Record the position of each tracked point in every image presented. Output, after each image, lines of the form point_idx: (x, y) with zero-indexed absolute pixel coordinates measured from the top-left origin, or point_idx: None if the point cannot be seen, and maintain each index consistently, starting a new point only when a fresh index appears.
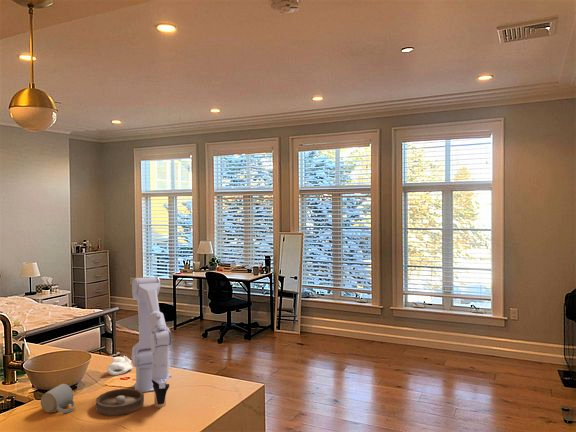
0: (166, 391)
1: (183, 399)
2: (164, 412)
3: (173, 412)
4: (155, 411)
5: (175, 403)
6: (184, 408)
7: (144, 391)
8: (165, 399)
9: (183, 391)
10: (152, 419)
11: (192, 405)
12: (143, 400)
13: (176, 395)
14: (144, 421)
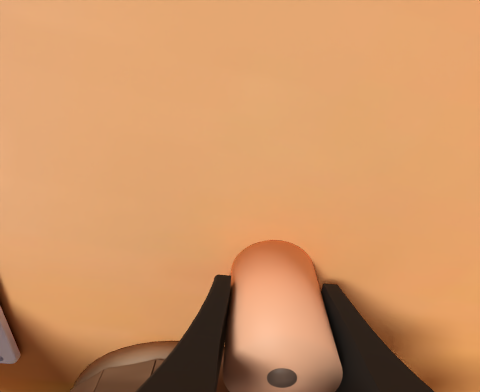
0: (429, 390)
1: (239, 80)
2: (413, 270)
3: (461, 220)
4: (357, 310)
5: (297, 171)
6: (456, 121)
7: (5, 321)
8: (305, 280)
9: (12, 25)
10: (460, 338)
11: (448, 20)
12: (221, 375)
13: (114, 125)
14: (451, 368)
